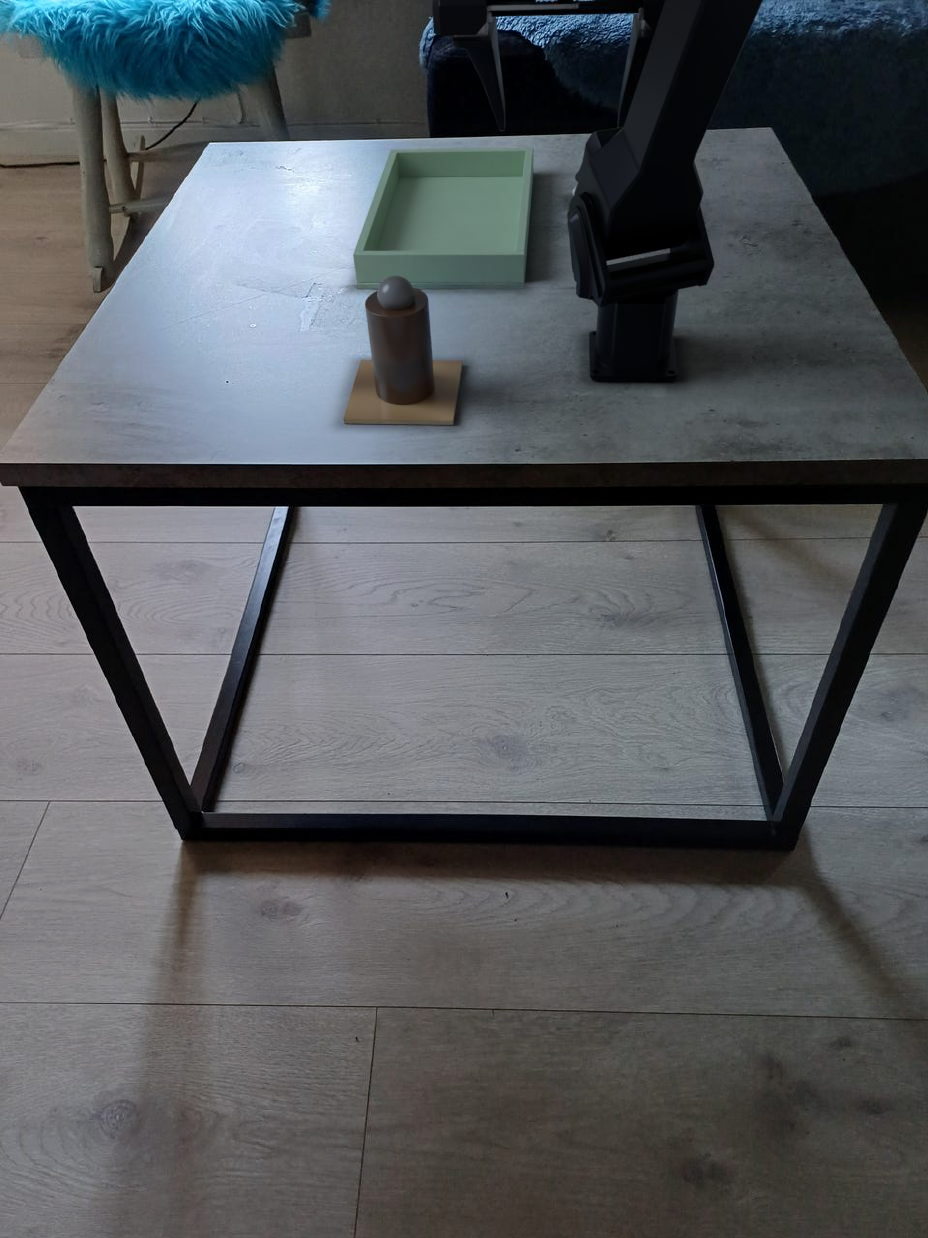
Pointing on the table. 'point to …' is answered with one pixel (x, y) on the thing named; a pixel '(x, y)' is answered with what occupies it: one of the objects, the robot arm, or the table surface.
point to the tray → (449, 219)
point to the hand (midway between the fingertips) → (560, 128)
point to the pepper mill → (400, 342)
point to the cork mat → (427, 412)
